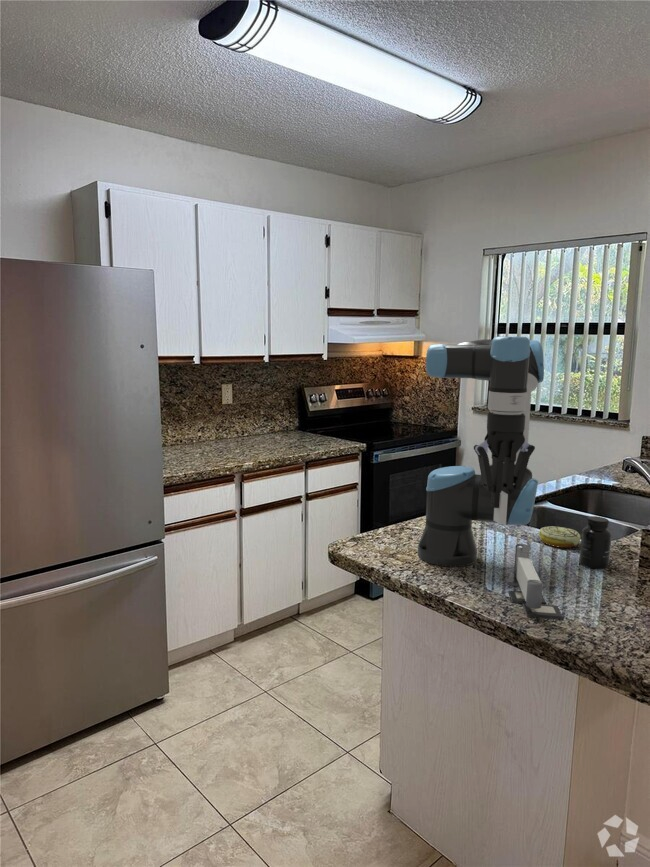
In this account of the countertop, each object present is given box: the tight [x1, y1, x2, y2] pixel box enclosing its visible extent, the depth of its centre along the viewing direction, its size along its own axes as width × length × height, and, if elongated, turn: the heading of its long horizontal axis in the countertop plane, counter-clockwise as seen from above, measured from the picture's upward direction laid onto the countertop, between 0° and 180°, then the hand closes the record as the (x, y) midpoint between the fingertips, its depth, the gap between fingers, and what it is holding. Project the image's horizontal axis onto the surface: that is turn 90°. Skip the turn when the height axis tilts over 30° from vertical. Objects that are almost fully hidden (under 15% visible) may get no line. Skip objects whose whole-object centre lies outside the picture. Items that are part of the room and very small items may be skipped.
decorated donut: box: [538, 525, 582, 548], centre depth 168 cm, size 10×11×4 cm
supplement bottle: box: [579, 515, 613, 570], centre depth 151 cm, size 7×7×12 cm
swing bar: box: [516, 557, 544, 609], centre depth 130 cm, size 16×3×5 cm, turn 171°
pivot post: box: [506, 543, 530, 588], centre depth 140 cm, size 5×5×9 cm
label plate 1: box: [508, 590, 547, 605], centre depth 132 cm, size 7×5×1 cm
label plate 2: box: [522, 603, 564, 620], centre depth 126 cm, size 7×5×1 cm
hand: (499, 522), depth 128 cm, fingers closed
